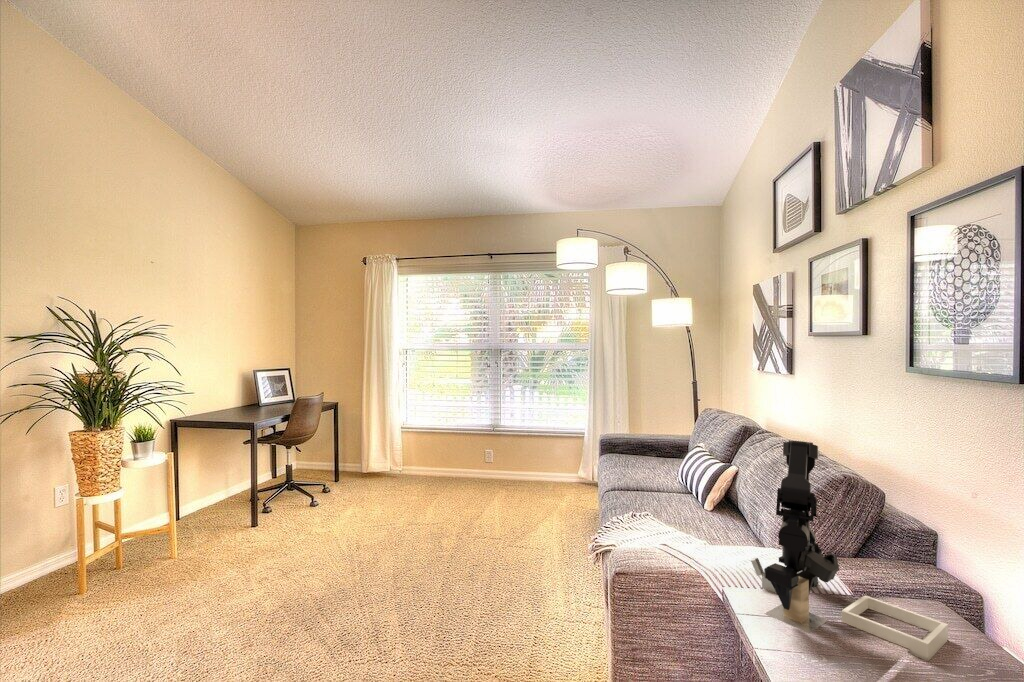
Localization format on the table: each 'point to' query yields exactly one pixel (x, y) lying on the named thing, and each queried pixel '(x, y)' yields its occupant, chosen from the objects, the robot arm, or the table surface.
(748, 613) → the table surface
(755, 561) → the lighter
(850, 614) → the rectangular frame
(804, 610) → the strut
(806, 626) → the base plate
